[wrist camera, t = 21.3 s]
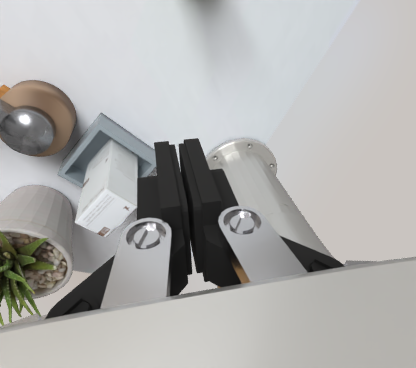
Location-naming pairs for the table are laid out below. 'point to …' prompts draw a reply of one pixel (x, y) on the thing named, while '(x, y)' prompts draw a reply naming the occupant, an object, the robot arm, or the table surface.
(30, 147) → the crank
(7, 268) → the potted plant
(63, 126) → the crank pedestal
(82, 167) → the tray
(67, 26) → the table surface
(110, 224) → the skincare box
